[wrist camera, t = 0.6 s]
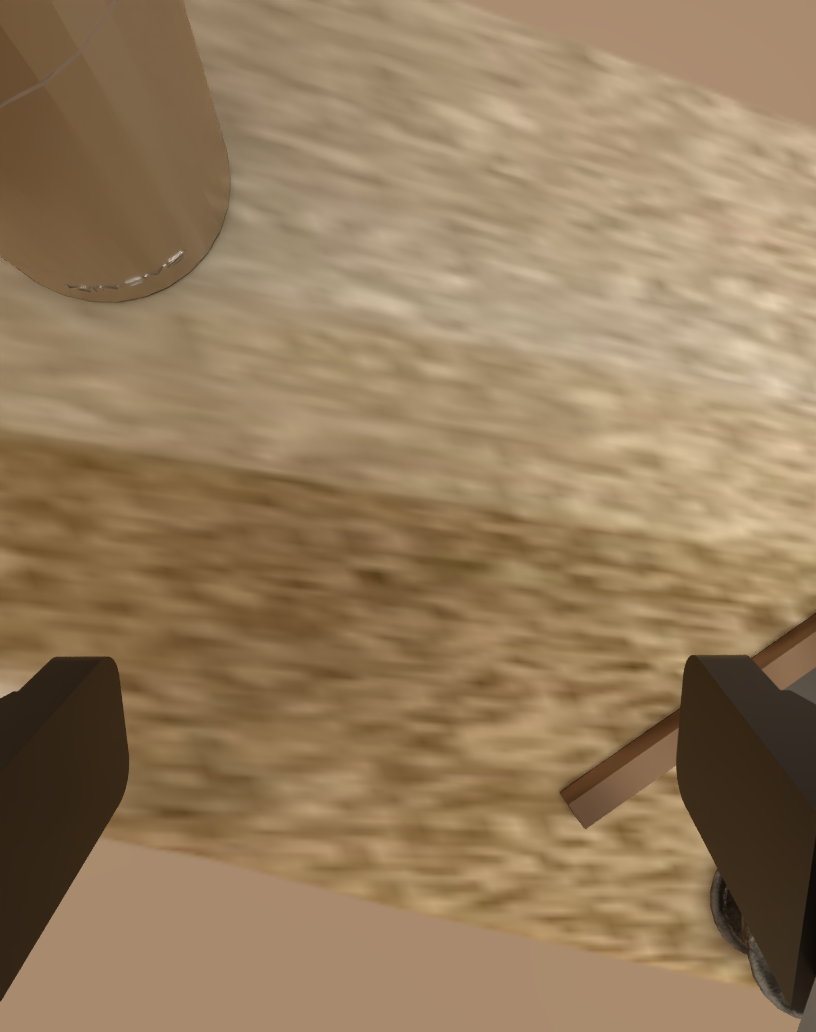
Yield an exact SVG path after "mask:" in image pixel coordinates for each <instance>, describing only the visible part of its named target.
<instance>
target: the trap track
mask: <svg viewBox="0 0 816 1032" xmlns="http://www.w3.org/2000/svg"><path fill="white" fill-rule="evenodd" d="M752 660H753V661H754V662H755V663H756V664H757V665H758V666H759V667H760V669H761V670H762V671H763V672H764V673H765V674H766V675H767V676H768V677H769V678H770V679H771V680H772V682H773V683H774V684H775V685H776V686H777V687H778V688H779V689H780V690H791V691H793V692H794V693H796V694H798V695H800V696H802V697H803V698H805V699H807V700H809V701H811V702H812V703H814V704H816V614H815V615H813V616H812V617H810V618H809V619H807V620H806V621H805V622H803V623H802V624H800V625H799V626H797V627H796V628H794V629H793V630H792V631H790V632H789V633H787V634H786V635H784V636H783V637H782V638H780V639H779V640H777V641H776V642H774V643H773V644H772V645H770V646H769V647H767V648H766V649H764V650H763V651H762V652H760V653H759V654H757V655H756V656H754V657H753V658H752ZM679 719H680V709H679V710H677V711H676V712H674V713H673V714H671V715H670V716H669V717H667V718H666V719H664V720H663V721H661V722H660V723H659V724H657V725H656V726H654V727H653V728H651V729H650V730H648V731H647V732H646V733H644V734H643V735H641V736H640V737H638V738H637V739H636V740H634V741H633V742H631V743H630V744H628V745H627V746H626V747H624V748H623V749H621V750H620V751H618V752H617V753H616V754H614V755H613V756H611V757H610V758H608V759H607V760H606V761H604V762H603V763H601V764H600V765H598V766H597V767H596V768H594V769H593V770H591V771H590V772H588V773H587V774H586V775H584V776H583V777H581V778H580V779H578V780H577V781H575V782H574V783H573V784H571V785H570V786H568V787H567V788H565V789H564V790H563V791H561V792H560V794H561V795H562V797H563V798H564V800H565V801H566V803H567V804H568V806H569V807H570V809H571V811H572V812H573V814H574V815H575V817H576V818H577V819H578V821H579V822H580V823H581V825H582V826H583V827H584V828H585V829H586V828H588V827H589V826H591V825H592V824H594V823H595V822H596V821H598V820H599V819H601V818H602V817H603V816H605V815H606V814H608V813H609V812H611V811H612V810H613V809H615V808H616V807H618V806H619V805H621V804H622V803H623V802H625V801H626V800H628V799H629V798H630V797H632V796H633V795H635V794H636V793H638V792H639V791H640V790H642V789H643V788H645V787H646V786H647V785H649V784H650V783H652V782H653V781H655V780H656V779H657V778H659V777H660V776H662V775H663V774H665V773H666V772H667V771H669V770H670V769H672V768H673V767H674V766H676V753H677V741H678V730H679Z"/></svg>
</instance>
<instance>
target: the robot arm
mask: <svg viewBox="0 0 816 1032" xmlns="http://www.w3.org/2000/svg"><path fill="white" fill-rule="evenodd" d="M229 191H230V171H229V163H228V155H227V150H226V147H225V144H224V140H223V137H222V134H221V130H220V127H219V123H218V120H217V117H216V113H215V110H214V106H213V102H212V98H211V95H210V91H209V87H208V84H207V81H206V77H205V74H204V70H203V67H202V64H201V60H200V57H199V53H198V50H197V47H196V43H195V40H194V36H193V33H192V30H191V26H190V23H189V20H188V16H187V13H186V9H185V6H184V3H183V0H0V256H1V257H2V258H4V259H5V260H6V261H8V262H9V263H11V264H12V265H13V266H15V267H16V268H18V269H19V270H20V271H22V272H23V273H25V274H26V275H27V276H29V277H30V278H32V279H33V280H34V281H36V282H37V283H39V284H41V285H43V286H45V287H47V288H50V289H52V290H54V291H56V292H58V293H61V294H63V295H66V296H70V297H75V298H79V299H83V300H88V301H104V302H120V301H125V300H130V299H136V298H141V297H145V296H148V295H150V294H152V293H155V292H157V291H160V290H162V289H164V288H167V287H169V286H170V285H172V284H173V283H175V282H176V281H178V280H179V279H180V278H182V277H183V276H185V275H186V274H188V273H189V272H190V271H191V270H192V269H193V268H194V267H195V266H196V265H197V264H198V262H199V261H200V260H201V259H202V258H203V257H204V256H205V255H206V254H207V253H208V251H209V249H210V247H211V246H212V244H213V242H214V240H215V239H216V237H217V235H218V234H219V232H220V230H221V227H222V224H223V220H224V217H225V214H226V211H227V208H228V202H229ZM676 770H677V779H678V785H679V790H680V793H681V797H682V800H683V802H684V804H685V806H686V808H687V810H688V812H689V814H690V816H691V818H692V820H693V822H694V824H695V826H696V827H697V829H698V831H699V833H700V835H701V837H702V839H703V841H704V843H705V845H706V847H707V849H708V851H709V852H710V854H711V856H712V858H713V860H714V862H715V864H716V866H717V868H718V870H719V872H720V874H721V876H722V877H723V879H724V881H725V883H726V885H727V887H728V889H729V891H730V893H731V895H732V897H733V899H734V900H735V902H736V904H737V906H738V908H739V910H740V912H741V914H742V916H743V918H744V920H745V922H746V924H747V925H748V927H749V929H750V931H751V933H752V935H753V937H754V939H755V941H756V943H757V945H758V947H759V948H760V950H761V952H762V954H763V956H764V958H765V960H766V962H767V964H768V966H769V968H770V970H771V972H772V973H773V975H774V977H775V979H776V981H777V983H778V985H779V987H780V989H781V991H782V993H783V995H784V997H785V998H786V1000H787V1002H788V1004H789V1006H790V1008H805V1010H804V1013H803V1016H802V1019H801V1022H800V1024H799V1027H798V1031H797V1032H816V704H814V703H812V702H811V701H809V700H807V699H805V698H803V697H802V696H800V695H798V694H796V693H794V692H793V691H791V690H780V689H779V688H778V687H777V686H776V685H775V684H774V683H773V682H772V680H771V679H770V678H769V677H768V676H767V675H766V674H765V673H764V672H763V671H762V670H761V669H760V667H759V666H758V665H757V664H756V663H755V662H754V661H753V660H752V659H751V658H750V657H749V656H747V655H691V656H690V657H689V658H688V659H687V661H686V664H685V668H684V674H683V685H682V696H681V707H680V719H679V730H678V741H677V753H676ZM128 772H129V753H128V744H127V736H126V728H125V720H124V711H123V703H122V695H121V687H120V679H119V672H118V668H117V665H116V663H115V661H114V660H113V659H112V658H111V657H55V658H53V659H51V660H50V661H49V662H48V663H47V664H46V665H45V666H44V667H43V668H42V669H41V670H40V671H39V672H38V673H37V674H36V675H35V676H34V677H33V678H32V679H30V680H29V681H28V682H27V683H26V684H25V685H24V686H23V687H22V688H21V689H20V690H19V691H13V692H12V693H10V694H8V695H6V696H4V697H2V698H0V1001H1V1000H2V999H3V997H4V995H5V994H6V992H7V990H8V988H9V987H10V985H11V984H12V982H13V980H14V979H15V977H16V975H17V974H18V972H19V970H20V969H21V967H22V965H23V964H24V962H25V960H26V959H27V957H28V955H29V953H30V952H31V950H32V949H33V947H34V945H35V944H36V942H37V940H38V939H39V937H40V935H41V934H42V932H43V930H44V929H45V927H46V925H47V924H48V922H49V920H50V919H51V917H52V915H53V914H54V912H55V910H56V909H57V907H58V905H59V904H60V902H61V900H62V899H63V897H64V895H65V894H66V892H67V890H68V889H69V887H70V885H71V884H72V882H73V880H74V879H75V877H76V876H77V874H78V872H79V870H80V869H81V867H82V866H83V864H84V862H85V860H86V859H87V857H88V856H89V854H90V852H91V851H92V849H93V847H94V846H95V844H96V842H97V841H98V839H99V837H100V836H101V834H102V832H103V831H104V829H105V827H106V826H107V824H108V822H109V821H110V819H111V817H112V816H113V814H114V812H115V811H116V809H117V807H118V806H119V804H120V802H121V800H122V798H123V795H124V792H125V789H126V785H127V780H128Z"/></svg>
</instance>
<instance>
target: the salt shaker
mask: <svg viewBox="0 0 816 1032" xmlns="http://www.w3.org/2000/svg"><path fill="white" fill-rule="evenodd" d="M711 910H712V914H713V918H714V922H715V924H716V925H717V927H718V929H719V931H720V932H721V934H722V936H723V937H724V938H725V939H726V940H727V941H728V942H729V943H730V944H731V945H732V946H733V947H734V948H735V949H737V950H739V951H741V952H743V953H745V954H747V955H748V958H749V961H750V965H751V969H752V973H753V977H754V979H755V980H756V982H757V984H758V986H759V987H760V989H761V991H762V993H763V994H764V995H765V996H766V997H767V998H768V999H769V1000H770V1001H771V1002H772V1003H773V1004H774V1005H775V1006H776V1007H777V1008H778V1009H780V1010H782V1011H783V1012H785V1013H787V1014H789V1015H791V1016H793V1017H795V1018H799V1019H802V1016H803V1013H804V1010H805V1008H790V1006H789V1004H788V1002H787V1000H786V998H785V997H784V995H783V993H782V991H781V989H780V987H779V985H778V983H777V981H776V979H775V977H774V975H773V973H772V972H771V970H770V968H769V966H768V964H767V962H766V960H765V958H764V956H763V954H762V952H761V950H760V948H759V947H758V945H757V943H756V941H755V939H754V937H753V935H752V933H751V931H750V929H749V927H748V925H747V924H746V922H745V920H744V918H743V916H742V914H741V912H740V910H739V908H738V906H737V904H736V902H735V900H734V899H733V897H732V895H731V893H730V891H729V889H728V887H727V885H726V883H725V881H724V879H723V877H722V876H721V874H720V872H719V870H718V869H717V871H716V873H715V876H714V879H713V883H712V887H711Z"/></svg>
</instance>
